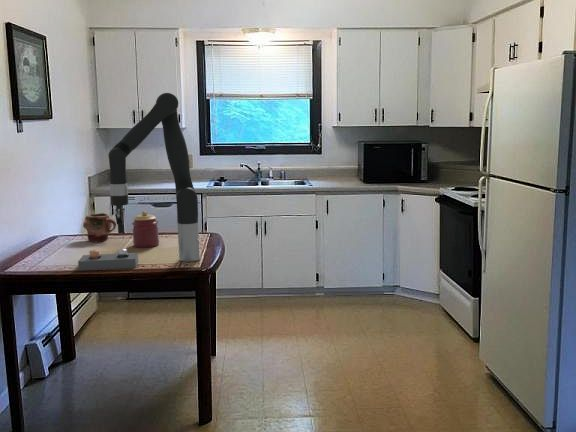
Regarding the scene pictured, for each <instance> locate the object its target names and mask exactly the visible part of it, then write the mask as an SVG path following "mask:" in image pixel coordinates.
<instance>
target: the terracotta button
mask: <svg viewBox="0 0 576 432" xmlns="http://www.w3.org/2000/svg"><path fill="white" fill-rule="evenodd" d="M99 254H100V250H99V249H93V250H89V255H90V258H91V259H96V258H99Z"/></svg>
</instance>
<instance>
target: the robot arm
mask: <svg viewBox="0 0 576 432" xmlns="http://www.w3.org/2000/svg"><path fill="white" fill-rule="evenodd" d="M178 107H179V100H178V98H177V95H175V94H173V93H172V92H163V93H161V94H160V95H159V96H158V97H157V98H156V101H155V103H154V105H153V106H152V108H151V109H150V111H148V113H147V114H146V115H145V116H144V117H143V118H142V119H141V120H139V121H138V122H137V123H136V124H135V125H134V126H132V127H131V129H130V130H129V131H128V132H127V133H126V134H125V135H124V136H123V137H122V139H121V140H120V141H119V142H118V143H116V144H115V145H114V146H113V147H112V148H111V149H110V150H109V152H108V155H107V156H108V162H109V171H110V172H109V196H110V197H109V200H110V205H111V206H112V207H113V206H115V209H114V214H115V215H114V216H115V220H116V221H115V223H116V226H117V230H118V231H117V232H118V234H124V232H125V231H124V230H125V229H124V228H125V226H124V224H125V218H126V217H125V212H126V208H124V206H127V205H128V204H129V189H128V188H129V187H128V183H127V182H128V179H127V172H126V170H127V161H126V160H127V159H126V158H128V156H129V155H130V154H131V153H132V152H133V151H135V150H136V149H137V148H138V146H139V145H141V144H142V143H143V142H144V141H145V139H146V138H147V137H148V136H149V135H150V134H151V132H152V131H153V130H154V129H155V128H156V127H157V126H158V125H159V124H160V123H161V125H162V132H163V139H164V146H165V147H164V148H165V151H166V156H167V161H168V164H169V167H170V170H171V172H172V175H173V179H174V185H175V186H174V187H175V200H176V213H177V214H176V215H177V216H176V218H177V237H178V238H177V239H178V258H179V259H178V260H179V261H180V262H186V263H187V262H197V261H200V260H201V258H200V237H199V235H200V234H199V200H198V198H199V197H198V195H197V192H196V190H195V188H194V184H193V182H192V181H193V180H192V176H191V172H190V171H191V170H190V158H189V157H190V156H189V151H188V147H187V143H186V139H185V136H184V134H183V131H182V128H181V126H180V123H179V116H178Z"/></svg>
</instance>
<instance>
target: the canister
mask: <svg viewBox="0 0 576 432" xmlns="http://www.w3.org/2000/svg"><path fill="white" fill-rule="evenodd" d="M158 223H159V221H158V220H157V216H155V215H153V214H149V213H148V212H147V211H146V210H143V211H142V212H141V214H138V215H136V216H134V217H133V221H132V222H131V225H132V230H131V231H132V239H133V240H132V243H133V247H135V248H142V249H143V248H154V247H157V246H159V244H160V237H159V227H158Z"/></svg>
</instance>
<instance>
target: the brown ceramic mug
mask: <svg viewBox="0 0 576 432" xmlns="http://www.w3.org/2000/svg"><path fill="white" fill-rule="evenodd" d="M82 225H83V226H82V227H83V228H84V229H85V230H86V231H87V240H88V241H89V242H91V243H99V242H104V241H106V240H108V238H109V234H111V233H112V232H113V231H115V229H116V227H117V222H116V221H115V219H112V218H110V216H109V214H107V213H104V212H102V213H91V214H88V215H86V216H85V219H84V222H83V223H82ZM112 226H113V228H112Z"/></svg>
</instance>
